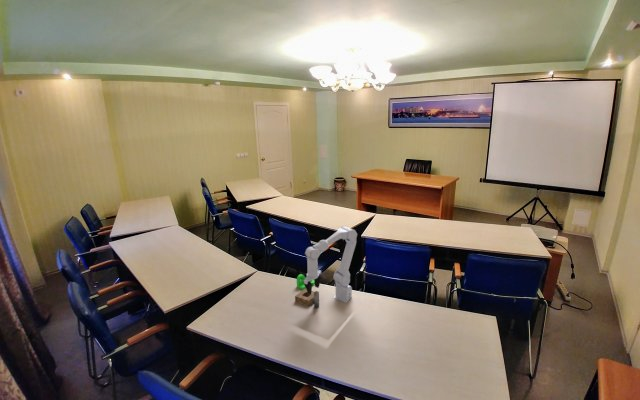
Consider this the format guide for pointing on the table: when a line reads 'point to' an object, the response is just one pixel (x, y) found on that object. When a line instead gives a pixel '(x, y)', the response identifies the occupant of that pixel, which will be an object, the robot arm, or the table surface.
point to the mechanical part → (300, 282)
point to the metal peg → (316, 299)
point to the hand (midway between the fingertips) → (313, 290)
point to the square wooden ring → (305, 297)
